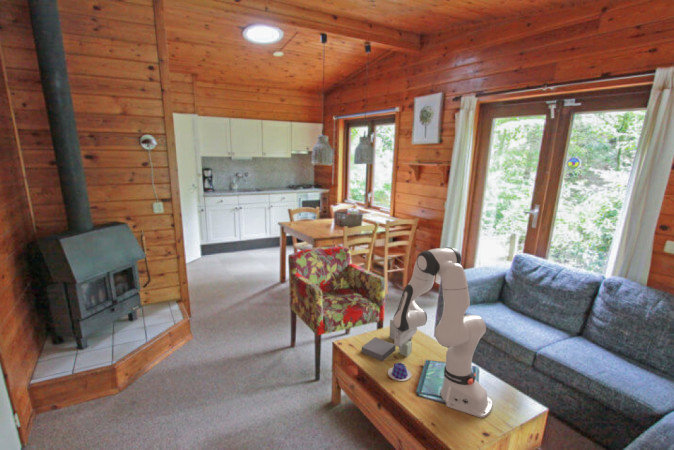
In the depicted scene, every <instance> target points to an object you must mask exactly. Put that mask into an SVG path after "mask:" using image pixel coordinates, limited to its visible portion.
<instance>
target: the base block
mask: <svg viewBox="0 0 674 450" xmlns="http://www.w3.org/2000/svg"><path fill="white" fill-rule="evenodd" d="M396 347H397V346H396V345H395V344H394V343H392V342H389V341H386V340H383V339H381V338H378V337H376V336H375V337H373V338H372V339H370V340H368V342H367V343H365V344H364V345H362V346H361V353H362V354H363V355H366V356H369V357H371V358H373V359H376V360H379V361H380V362H384V361H385V360H386V359H387V358H388V357H390V356H391V355H392V354H394V352H395V351H396Z"/></svg>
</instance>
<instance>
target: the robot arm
mask: <svg viewBox="0 0 674 450" xmlns="http://www.w3.org/2000/svg"><path fill="white" fill-rule="evenodd" d="M461 262H462V255H461V253H460V251H459V250H458V249H457V248H455V247H451V246H450V247H442V248H441V247H440V248H439V247H436V248H432V249H428V250H424V251H421V252H419V254H418V255H417V257H416V260H415V263H414V266H413V270H412V276H411V278H410V280H409V282H408V284H406V286H405V287H404V288H403V291H402V295H401V297H400V299H399V303H398V307H397V310H396V312H395V314H394V315H393V317H392V318H393V323H394V326H395V327H396V328H397V329H398V331H397V332H396V333H395V338H394V340H393V344H395V345H396V347H398V350H399V351H402V350H403V347H402V345H403V344H404V343H405V342H406V341H407V340H408V341H411V342H412V339H413V336H414V335H416V334H417V330H418V328H420V327H423V326H426V324H427V322H428V315H427V311H426V310H424V309H423V308H421V307H420V306H419V305H418V304H417V302H416V299H417V298H418V297H419V296H423V294H425V293H426V294H427V292H429V291H430V290H431V289H432V288H433V287H434V283H435V280H436V275H438V276H439V278H440V280H441V289H442V296H443V297H442V298H443V311H442V315H441V318H440V321H439V323H438V324H437V326H436V327H435V329H434V336H435V339H436V341H437V342H438V344H439V345H441V347H444V348H448V349H446V355H445V365H444V369H443V377H444V378H443V383H442V388H441V389H440V392H441V394H440V397H441V398H442V400H443V401H444V402H445V405H446V407H448V408H449V409H454V410H456V411H458V412H461V413H465V414H469V415H472V416H475V417H478V418H485V417H487V416H488V415H490V413H491V411H492V409H493V401H492V399H491V398H489V397H488V393H487V389H485V387H483V386H482V385H481V383H480V382H478V381H477V380H476V376H477V372H474V373H473V371H472V363H473V362H472V361H473V356H474V353H475V351H476V348H477V346H478V345H479V344H478V343H479V342H480V341H481V338H482V337H484V335H485V333H486V331H487V327H486V326H487V325H486V322H485V320H484V318H482V316H479V314H478V315H477V314H466V312H467V310H468V308H469V307H470V306H471V305H470V304H471V300H470V292H469V285H468V279H467V275H466V271H465V270H464V267H463V266H462V265H461ZM465 314H466V315H465Z"/></svg>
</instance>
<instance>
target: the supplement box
mask: <svg viewBox="0 0 674 450" xmlns="http://www.w3.org/2000/svg"><path fill="white" fill-rule="evenodd" d="M393 318H394V317H392V318H390V321H389V338H390V339H391V340H393V341H394V338H395V333H396V332H397V331H398V329H397V328H396V327H395V326H394V323H393Z"/></svg>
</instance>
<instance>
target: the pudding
mask: <svg viewBox="0 0 674 450" xmlns="http://www.w3.org/2000/svg"><path fill="white" fill-rule="evenodd" d="M387 374H388V376H389V378H391V379H393V380H394V381H397V382H398V381H399V382H405V381H408V380H410V379H411V378H412V372H411V371H410V370H409V369H408V368H407V366H406V365H405V364H404V363H402V362H396V363H394V365H393V366H392V367H391V368H389V369H388V370H387Z"/></svg>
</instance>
